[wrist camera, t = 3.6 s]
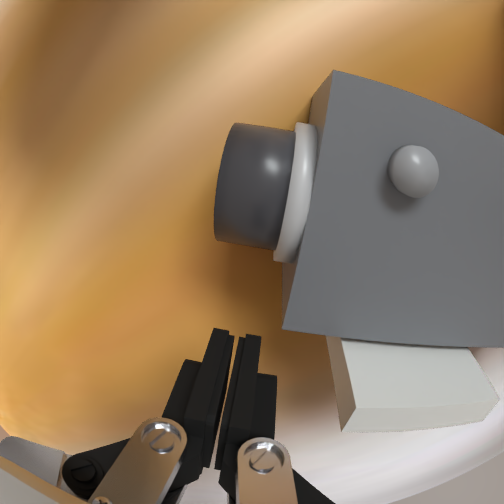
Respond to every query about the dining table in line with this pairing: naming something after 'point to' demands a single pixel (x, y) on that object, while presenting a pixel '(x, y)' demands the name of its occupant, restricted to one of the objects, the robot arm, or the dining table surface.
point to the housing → (374, 216)
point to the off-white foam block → (407, 386)
